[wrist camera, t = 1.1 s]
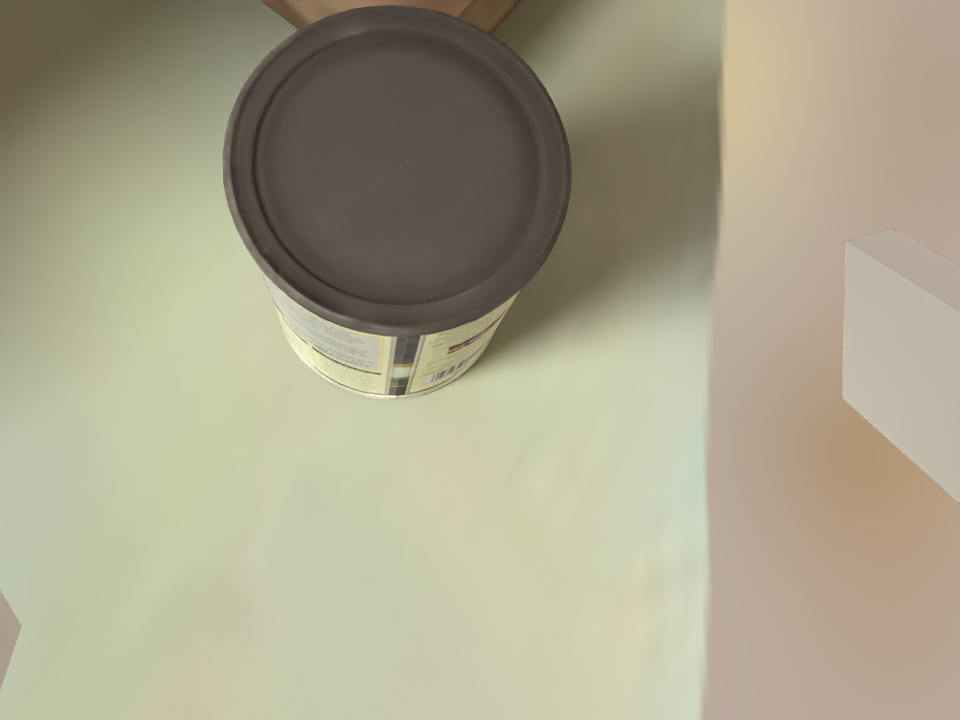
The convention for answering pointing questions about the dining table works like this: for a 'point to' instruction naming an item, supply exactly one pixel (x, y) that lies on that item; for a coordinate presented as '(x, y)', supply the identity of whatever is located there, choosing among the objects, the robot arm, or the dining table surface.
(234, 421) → the dining table surface
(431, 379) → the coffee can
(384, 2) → the walnut block
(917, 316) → the robot arm
